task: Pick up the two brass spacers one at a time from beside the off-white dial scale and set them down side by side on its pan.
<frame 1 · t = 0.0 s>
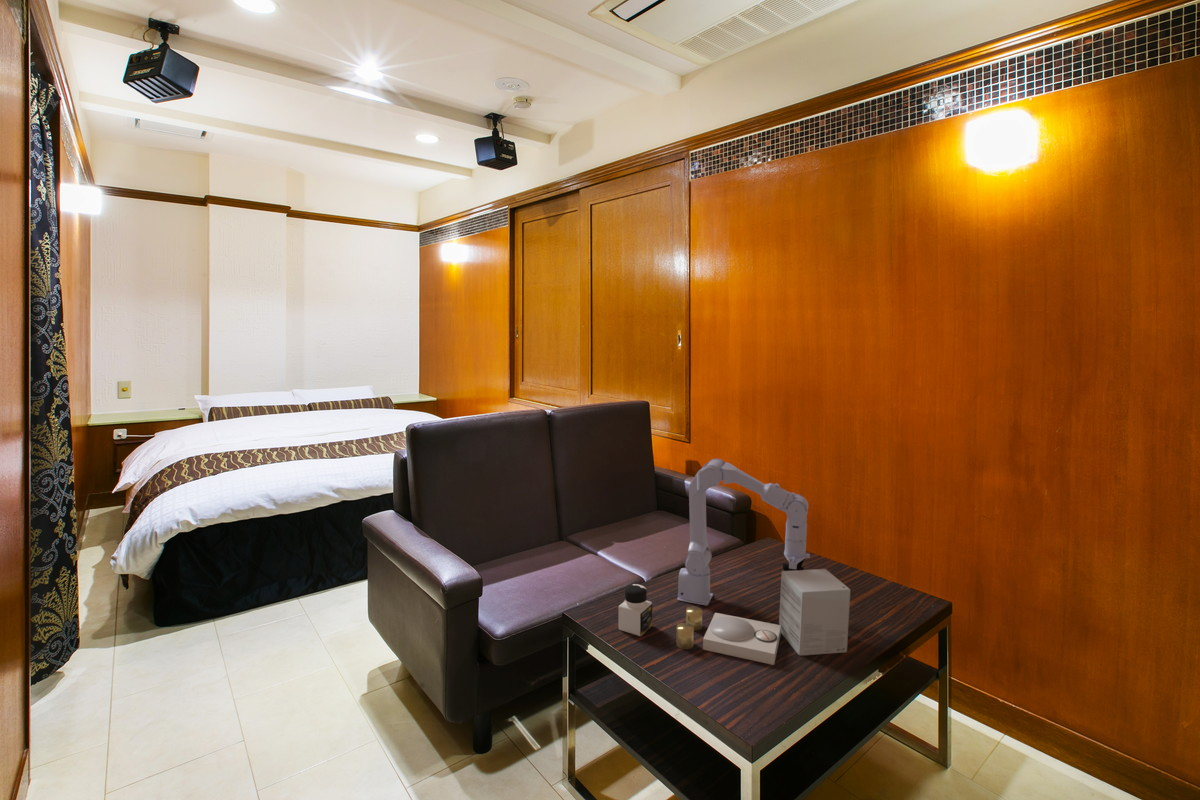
hand: (793, 583, 169), 10 cm above the table, fingers open, 7 cm apart
spacer a: (693, 626, 165), on the table
medicine bottle: (635, 628, 164), on the table
supplement box: (811, 641, 157), on the table
spacer b: (684, 644, 156), on the table
scale: (742, 642, 157), on the table
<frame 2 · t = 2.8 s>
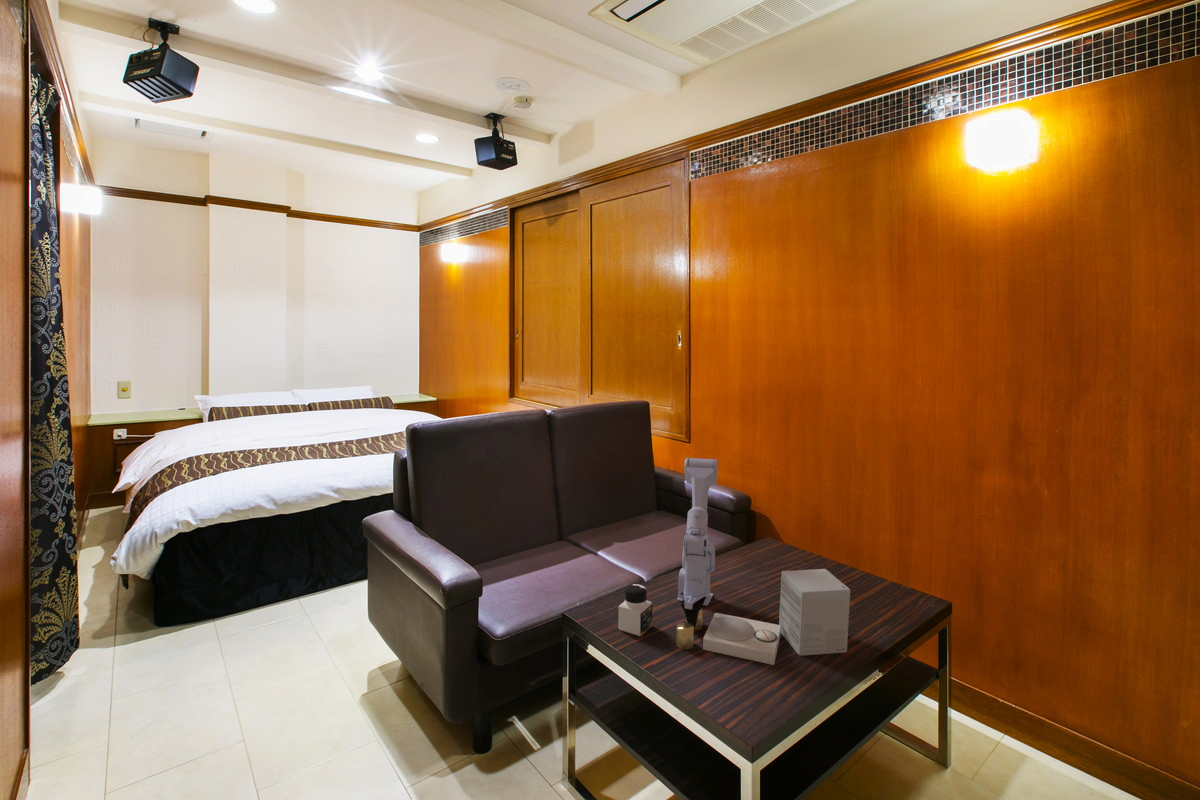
hand: (694, 621, 165), 1 cm above the table, fingers closed on spacer a, 4 cm apart
spacer a: (693, 626, 165), on the table, touching gripper
everything else where it was.
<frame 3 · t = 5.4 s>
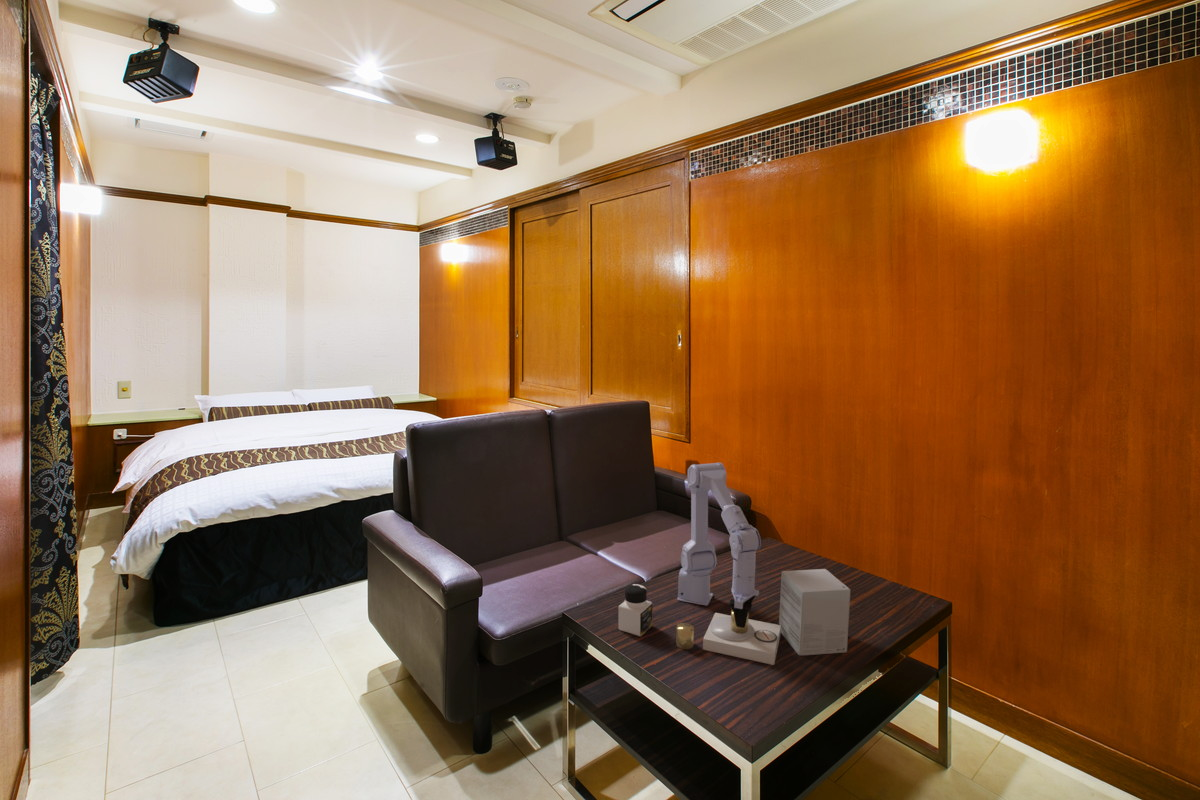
hand: (742, 622, 156), 6 cm above the table, fingers closed on spacer a, 4 cm apart
spacer a: (739, 629, 157), point 4 cm above the table, touching gripper, scale
everything else where it was.
when the fingers open (6 cm above the table, at t = 11.8 s): spacer a stays where it is, resting on scale.
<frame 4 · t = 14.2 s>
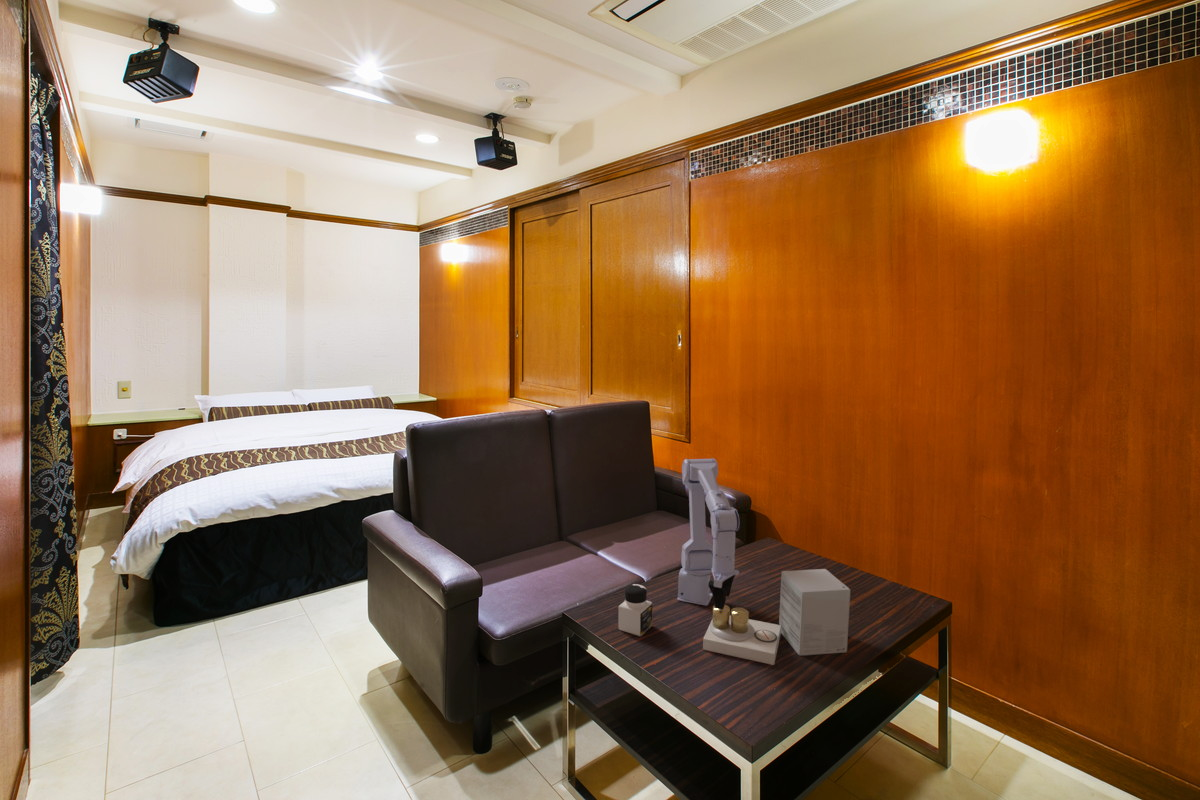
hand: (722, 601, 157), 10 cm above the table, fingers open, 7 cm apart
spacer a: (739, 629, 157), point 4 cm above the table, touching scale
spacer b: (720, 625, 158), point 4 cm above the table, touching scale
everything else where it was.
at the end: spacer a inside the target area (2.1 cm from its centre), point 3.6 cm above the table; spacer b inside the target area (2.9 cm from its centre), point 3.6 cm above the table; spacer b tilted 0° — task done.
